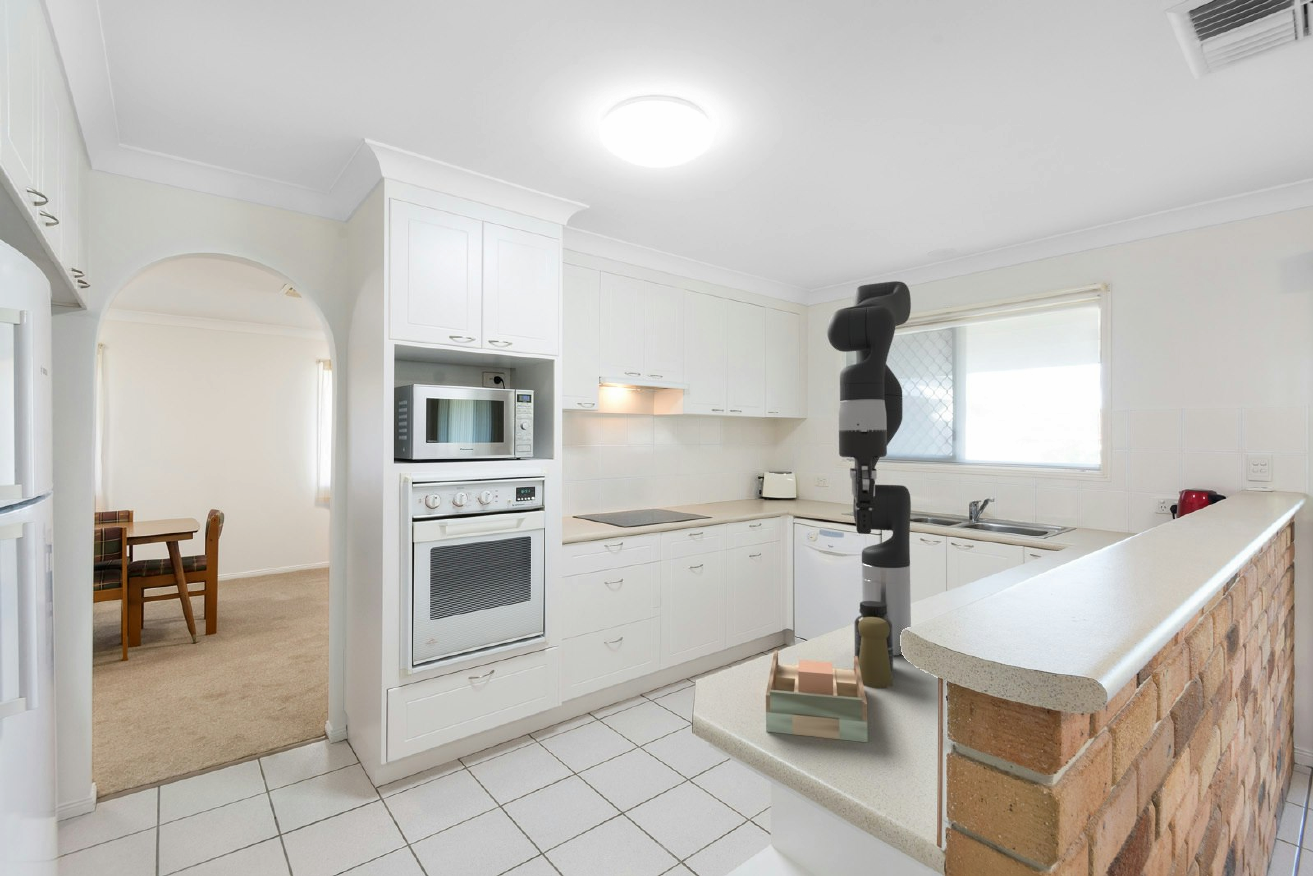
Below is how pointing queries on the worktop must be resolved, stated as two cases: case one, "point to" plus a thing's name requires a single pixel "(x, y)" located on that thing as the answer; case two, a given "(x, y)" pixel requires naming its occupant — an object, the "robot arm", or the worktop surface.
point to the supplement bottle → (880, 612)
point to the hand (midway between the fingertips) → (863, 533)
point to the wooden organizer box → (816, 705)
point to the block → (815, 677)
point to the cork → (874, 653)
